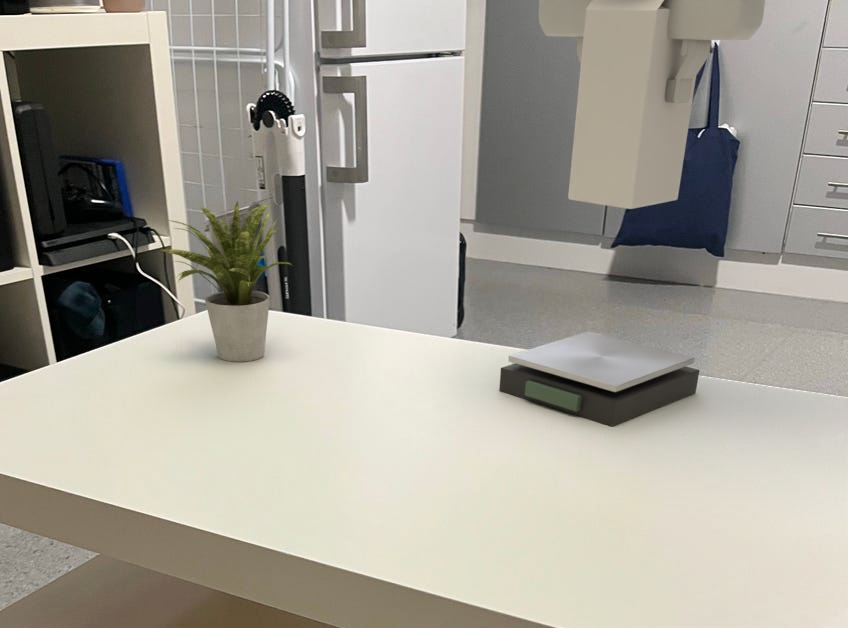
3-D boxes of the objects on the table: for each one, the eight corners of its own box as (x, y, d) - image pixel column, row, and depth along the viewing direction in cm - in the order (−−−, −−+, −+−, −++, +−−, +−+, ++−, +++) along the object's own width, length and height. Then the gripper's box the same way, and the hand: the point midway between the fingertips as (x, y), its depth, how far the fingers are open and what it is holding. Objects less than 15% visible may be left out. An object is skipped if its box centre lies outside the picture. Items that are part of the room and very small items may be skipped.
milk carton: (631, 211, 89) (664, -52, 78) (567, 201, 93) (590, -49, 83) (677, 201, 92) (715, -50, 82) (614, 192, 97) (642, -47, 87)
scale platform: (587, 336, 109) (588, 330, 108) (693, 363, 101) (694, 357, 100) (508, 361, 101) (508, 355, 101) (615, 392, 93) (616, 386, 93)
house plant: (215, 329, 123) (203, 182, 114) (321, 339, 119) (317, 188, 110) (156, 363, 111) (137, 203, 102) (271, 376, 107) (262, 210, 98)
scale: (584, 362, 111) (586, 340, 110) (695, 393, 102) (699, 369, 101) (495, 392, 103) (496, 368, 101) (608, 428, 94) (611, 403, 93)
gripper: (799, -103, 76) (762, 104, 84) (580, -87, 89) (565, 91, 96) (756, -107, 73) (721, 109, 80) (534, -91, 85) (522, 95, 93)
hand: (634, 99), depth 88 cm, fingers closed on milk carton, 7 cm apart
